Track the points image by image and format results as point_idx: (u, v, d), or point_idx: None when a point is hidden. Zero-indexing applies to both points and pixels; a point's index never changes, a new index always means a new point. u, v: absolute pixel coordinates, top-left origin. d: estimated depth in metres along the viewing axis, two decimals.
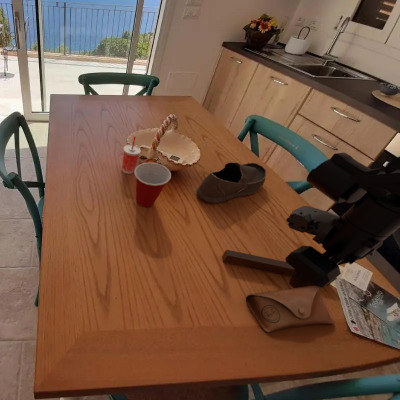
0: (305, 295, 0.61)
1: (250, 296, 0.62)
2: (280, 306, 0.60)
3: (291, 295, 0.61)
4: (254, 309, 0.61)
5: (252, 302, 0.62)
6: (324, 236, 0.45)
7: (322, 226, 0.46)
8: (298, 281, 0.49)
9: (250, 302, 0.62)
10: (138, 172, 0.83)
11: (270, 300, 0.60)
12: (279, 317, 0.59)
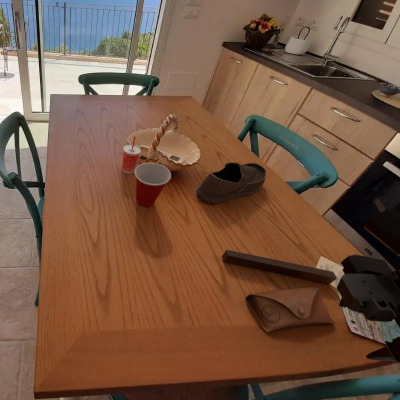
0: (305, 295, 0.61)
1: (250, 296, 0.62)
2: (280, 306, 0.60)
3: (291, 295, 0.61)
4: (254, 308, 0.61)
5: (252, 302, 0.62)
6: None
7: (399, 304, 0.38)
8: (387, 359, 0.42)
9: (250, 302, 0.62)
10: (138, 172, 0.83)
11: (270, 300, 0.60)
12: (279, 317, 0.59)
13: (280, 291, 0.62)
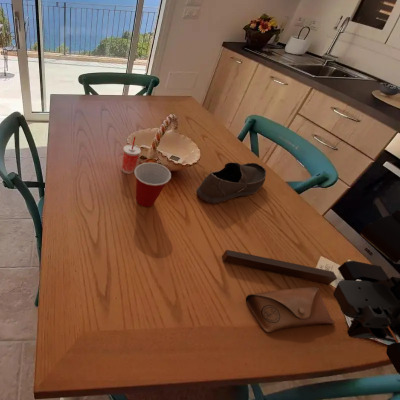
0: (305, 295, 0.61)
1: (250, 296, 0.62)
2: (280, 306, 0.60)
3: (291, 295, 0.61)
4: (254, 308, 0.61)
5: (252, 302, 0.62)
6: None
7: (394, 311, 0.39)
8: (367, 336, 0.46)
9: (250, 302, 0.62)
10: (138, 172, 0.83)
11: (270, 300, 0.60)
12: (279, 317, 0.59)
13: (280, 291, 0.62)
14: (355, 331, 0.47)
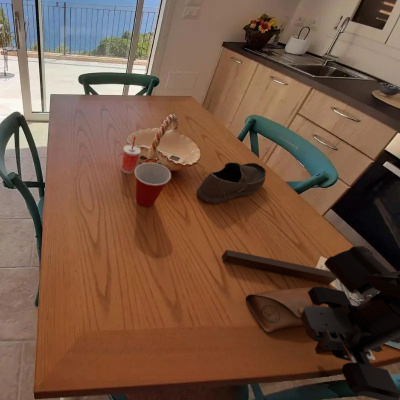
0: (305, 295, 0.61)
1: (250, 296, 0.62)
2: (280, 306, 0.60)
3: (291, 295, 0.61)
4: (254, 308, 0.61)
5: (252, 302, 0.62)
6: (355, 343, 0.45)
7: (348, 335, 0.45)
8: (331, 354, 0.52)
9: (250, 302, 0.62)
10: (138, 172, 0.83)
11: (270, 300, 0.60)
12: (279, 317, 0.59)
13: (280, 291, 0.62)
14: (321, 349, 0.53)
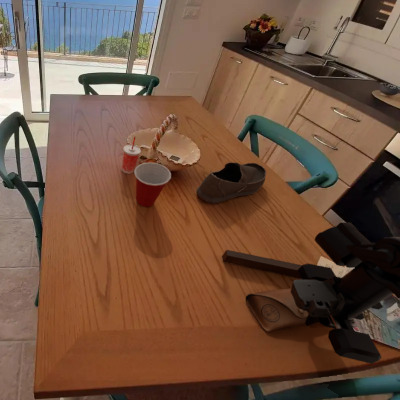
0: None
1: (250, 295, 0.62)
2: (279, 305, 0.60)
3: (291, 295, 0.61)
4: (254, 308, 0.61)
5: (252, 301, 0.62)
6: (339, 311, 0.49)
7: (333, 303, 0.49)
8: (319, 325, 0.56)
9: (250, 302, 0.62)
10: (138, 172, 0.83)
11: (270, 299, 0.61)
12: (279, 316, 0.59)
13: (280, 290, 0.62)
14: (310, 321, 0.57)
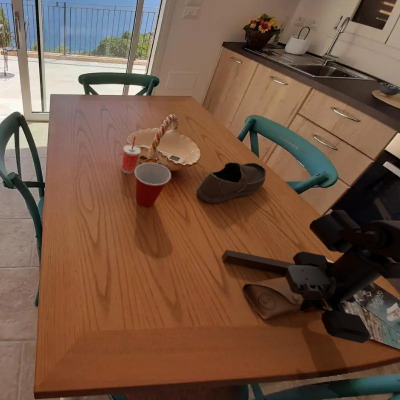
0: None
1: (247, 285, 0.64)
2: (275, 294, 0.62)
3: (285, 283, 0.63)
4: (251, 297, 0.63)
5: (249, 291, 0.64)
6: (331, 294, 0.51)
7: (326, 287, 0.51)
8: (313, 310, 0.58)
9: (247, 291, 0.64)
10: (138, 172, 0.83)
11: (266, 288, 0.63)
12: (275, 304, 0.61)
13: (275, 279, 0.64)
14: (304, 306, 0.59)
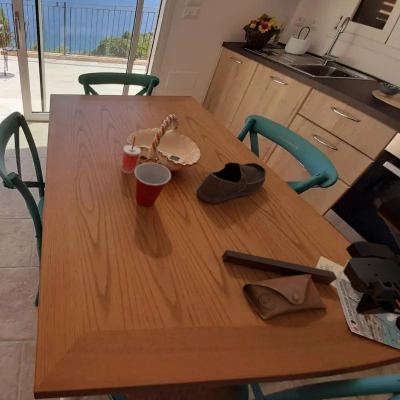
0: (299, 282, 0.64)
1: (247, 285, 0.64)
2: (275, 294, 0.62)
3: (285, 283, 0.63)
4: (251, 297, 0.63)
5: (249, 291, 0.64)
6: None
7: None
8: (375, 312, 0.48)
9: (247, 291, 0.64)
10: (138, 172, 0.83)
11: (266, 288, 0.63)
12: (275, 304, 0.61)
13: (275, 279, 0.65)
14: (363, 307, 0.49)
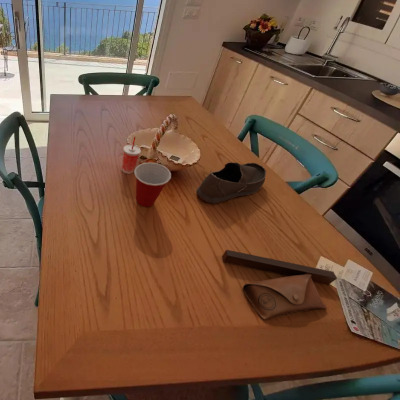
0: (299, 282, 0.64)
1: (247, 285, 0.64)
2: (275, 294, 0.62)
3: (285, 283, 0.63)
4: (251, 297, 0.63)
5: (249, 291, 0.64)
6: None
7: None
8: None
9: (247, 291, 0.64)
10: (138, 172, 0.83)
11: (266, 288, 0.63)
12: (275, 304, 0.61)
13: (275, 279, 0.65)
14: None
